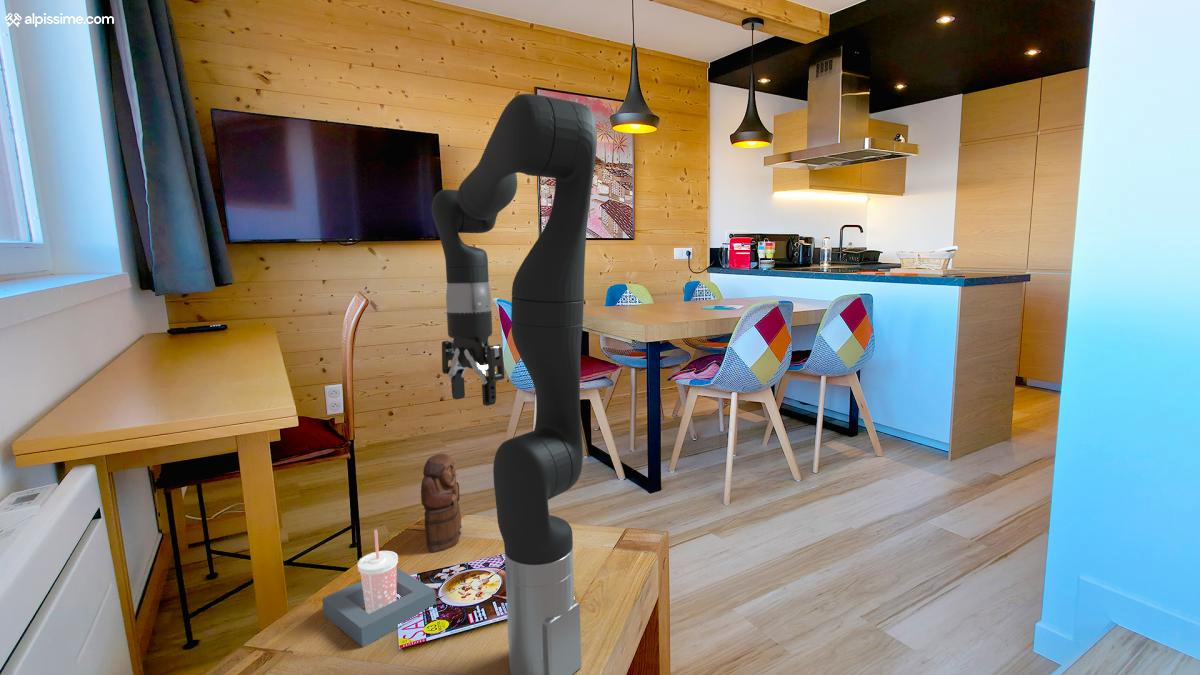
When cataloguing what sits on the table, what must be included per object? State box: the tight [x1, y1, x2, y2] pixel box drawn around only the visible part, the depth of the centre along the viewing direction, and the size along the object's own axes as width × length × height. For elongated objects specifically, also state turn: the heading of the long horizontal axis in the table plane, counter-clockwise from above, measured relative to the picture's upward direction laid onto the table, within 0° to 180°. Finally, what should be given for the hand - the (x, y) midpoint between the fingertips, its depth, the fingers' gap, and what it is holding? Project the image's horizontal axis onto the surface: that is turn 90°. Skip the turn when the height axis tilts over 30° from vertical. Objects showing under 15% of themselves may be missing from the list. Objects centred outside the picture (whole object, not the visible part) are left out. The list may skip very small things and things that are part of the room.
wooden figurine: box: [420, 453, 463, 553], centre depth 116 cm, size 12×6×18 cm, turn 3°
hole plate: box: [321, 567, 437, 648], centre depth 92 cm, size 13×13×3 cm
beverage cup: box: [357, 529, 399, 614], centre depth 91 cm, size 6×6×14 cm
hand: (473, 401), depth 99 cm, fingers open, 8 cm apart
